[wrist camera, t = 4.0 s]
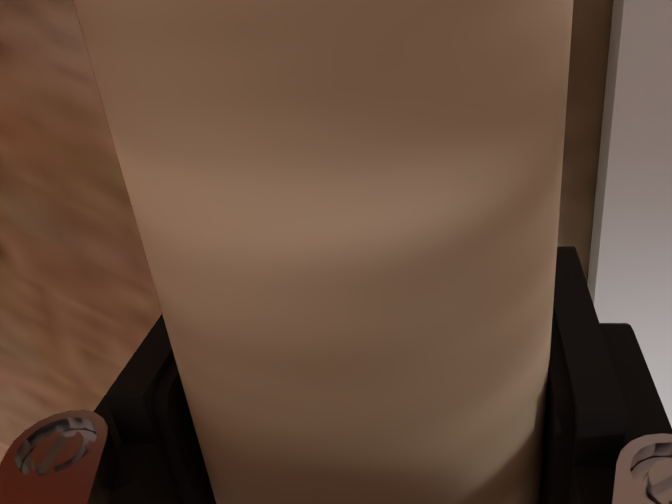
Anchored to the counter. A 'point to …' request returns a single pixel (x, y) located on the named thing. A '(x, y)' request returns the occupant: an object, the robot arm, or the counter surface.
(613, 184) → the pastry board
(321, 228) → the rolling pin
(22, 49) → the counter surface
